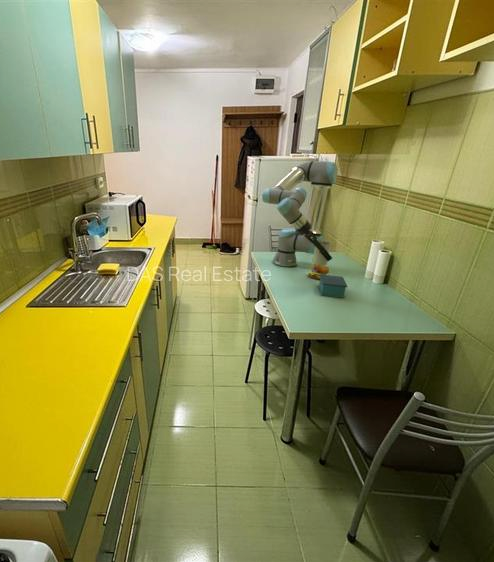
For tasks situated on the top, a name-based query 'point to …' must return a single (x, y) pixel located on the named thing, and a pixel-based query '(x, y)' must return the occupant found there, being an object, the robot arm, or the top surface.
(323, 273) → the cheeseburger
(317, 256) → the cup
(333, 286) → the container
